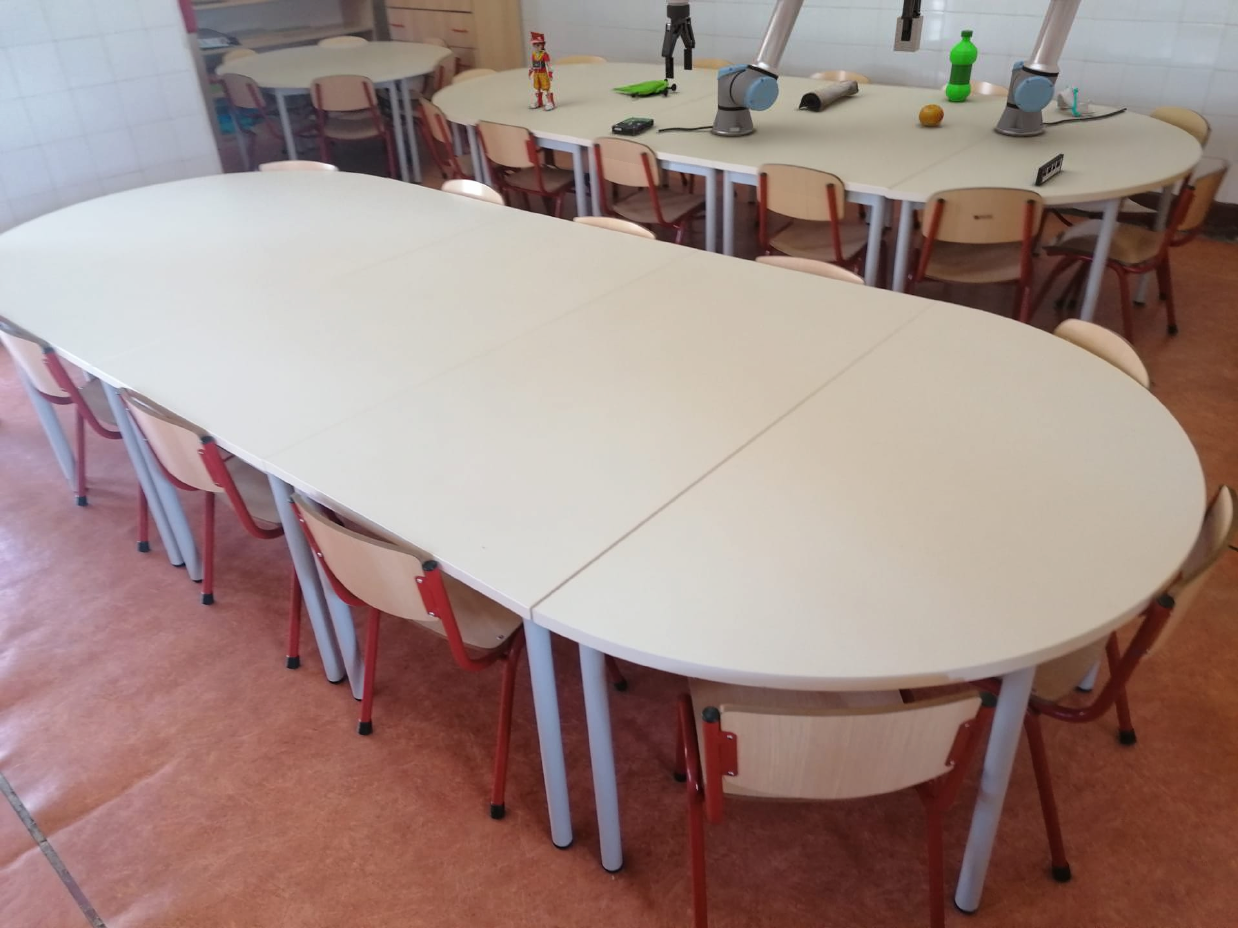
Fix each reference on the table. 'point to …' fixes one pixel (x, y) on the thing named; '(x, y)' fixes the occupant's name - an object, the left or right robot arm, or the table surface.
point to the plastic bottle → (961, 68)
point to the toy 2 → (648, 88)
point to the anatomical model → (1073, 101)
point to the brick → (914, 37)
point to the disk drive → (632, 126)
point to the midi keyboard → (1049, 169)
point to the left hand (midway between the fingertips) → (679, 74)
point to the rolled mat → (828, 94)
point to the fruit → (931, 115)
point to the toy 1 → (541, 71)
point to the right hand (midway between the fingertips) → (907, 39)
